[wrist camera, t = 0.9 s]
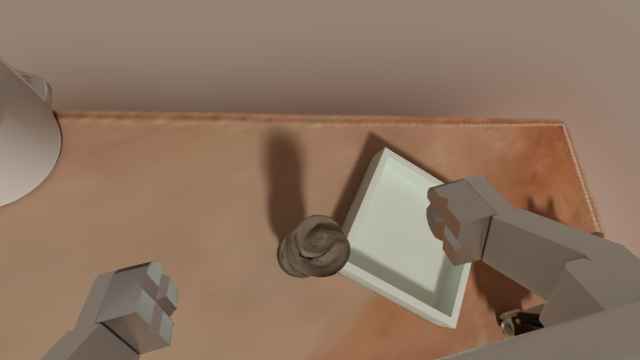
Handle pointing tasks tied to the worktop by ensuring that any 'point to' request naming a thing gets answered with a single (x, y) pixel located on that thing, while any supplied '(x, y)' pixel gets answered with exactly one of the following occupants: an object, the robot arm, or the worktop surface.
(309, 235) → the light bulb
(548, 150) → the worktop surface
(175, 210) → the worktop surface
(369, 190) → the tray
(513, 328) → the pneumatic valve
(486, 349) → the robot arm
